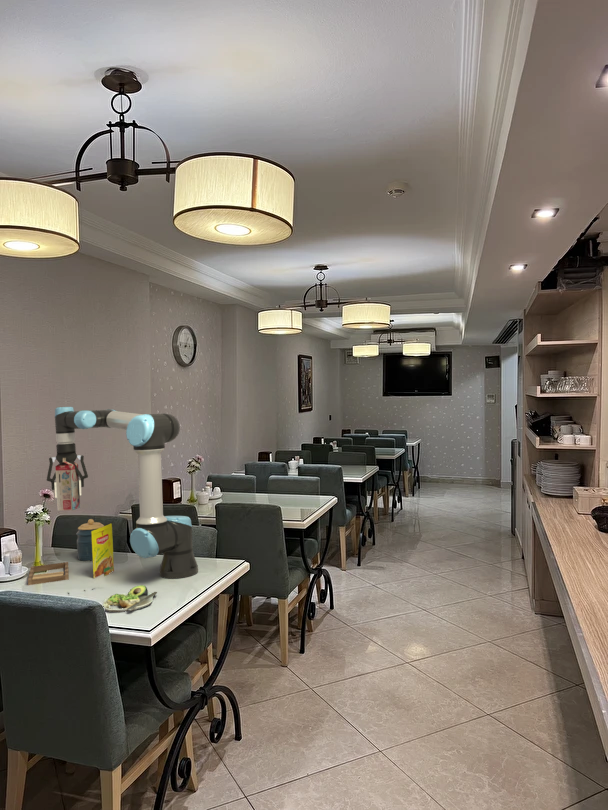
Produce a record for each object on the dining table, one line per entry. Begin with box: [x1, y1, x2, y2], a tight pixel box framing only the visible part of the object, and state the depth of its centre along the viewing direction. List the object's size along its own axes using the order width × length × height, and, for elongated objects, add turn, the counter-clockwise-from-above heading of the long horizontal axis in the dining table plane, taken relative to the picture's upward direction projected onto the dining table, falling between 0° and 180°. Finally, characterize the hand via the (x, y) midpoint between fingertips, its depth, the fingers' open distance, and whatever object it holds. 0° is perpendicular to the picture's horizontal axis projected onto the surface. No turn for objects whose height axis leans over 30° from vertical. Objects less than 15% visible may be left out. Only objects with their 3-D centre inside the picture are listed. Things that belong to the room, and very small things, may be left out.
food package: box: [91, 522, 115, 579], centre depth 239 cm, size 15×1×20 cm, turn 168°
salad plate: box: [102, 584, 158, 613], centre depth 202 cm, size 19×18×5 cm
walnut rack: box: [27, 561, 70, 586], centre depth 238 cm, size 21×14×4 cm
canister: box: [75, 518, 105, 562], centre depth 271 cm, size 13×13×18 cm
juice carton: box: [55, 458, 81, 512], centre depth 251 cm, size 7×7×22 cm
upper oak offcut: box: [32, 570, 65, 580], centre depth 232 cm, size 5×11×2 cm, turn 109°
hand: (68, 496), depth 251 cm, fingers closed on juice carton, 9 cm apart
